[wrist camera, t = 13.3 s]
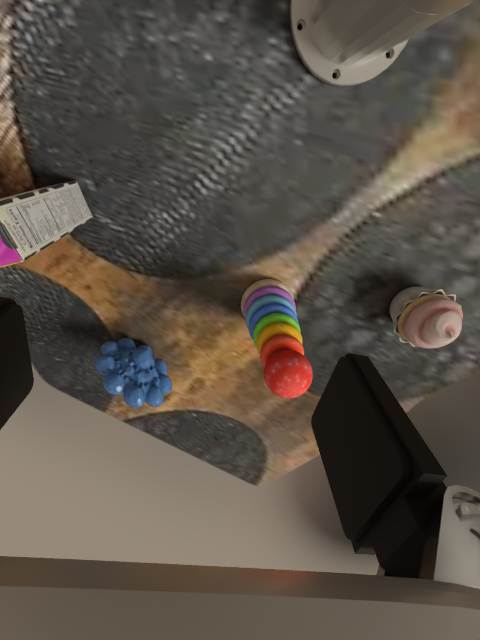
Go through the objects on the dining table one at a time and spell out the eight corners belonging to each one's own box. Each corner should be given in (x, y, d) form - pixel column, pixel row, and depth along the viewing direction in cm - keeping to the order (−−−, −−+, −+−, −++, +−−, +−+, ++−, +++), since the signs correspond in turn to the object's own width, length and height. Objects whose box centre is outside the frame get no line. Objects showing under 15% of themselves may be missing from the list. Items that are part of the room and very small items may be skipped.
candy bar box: (18, 240, 40) (-98, 294, 26) (-7, 201, 37) (-149, 237, 23) (97, 219, 39) (23, 264, 25) (78, 178, 36) (-17, 200, 22)
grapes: (189, 343, 49) (179, 397, 39) (170, 371, 52) (157, 428, 41) (120, 310, 45) (89, 360, 35) (104, 342, 48) (71, 396, 38)
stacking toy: (239, 323, 47) (245, 416, 31) (242, 275, 43) (251, 354, 27) (288, 324, 48) (320, 417, 32) (296, 277, 44) (337, 356, 28)
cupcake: (452, 296, 47) (504, 331, 38) (404, 338, 50) (441, 378, 42) (415, 263, 44) (461, 293, 35) (366, 310, 47) (398, 347, 39)
